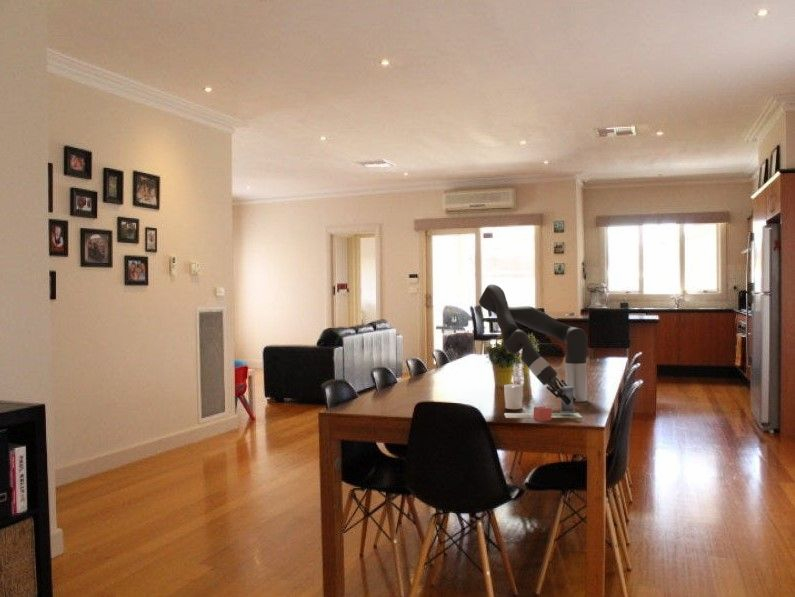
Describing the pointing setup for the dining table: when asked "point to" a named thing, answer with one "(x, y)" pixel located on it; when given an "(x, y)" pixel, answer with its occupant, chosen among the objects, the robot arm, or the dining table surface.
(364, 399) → the dining table surface
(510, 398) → the white cup
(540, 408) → the red die
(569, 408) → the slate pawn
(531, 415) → the game track
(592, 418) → the dining table surface
